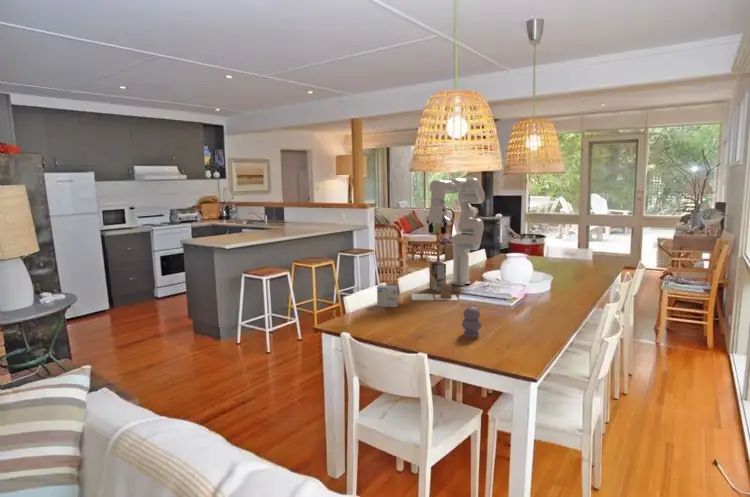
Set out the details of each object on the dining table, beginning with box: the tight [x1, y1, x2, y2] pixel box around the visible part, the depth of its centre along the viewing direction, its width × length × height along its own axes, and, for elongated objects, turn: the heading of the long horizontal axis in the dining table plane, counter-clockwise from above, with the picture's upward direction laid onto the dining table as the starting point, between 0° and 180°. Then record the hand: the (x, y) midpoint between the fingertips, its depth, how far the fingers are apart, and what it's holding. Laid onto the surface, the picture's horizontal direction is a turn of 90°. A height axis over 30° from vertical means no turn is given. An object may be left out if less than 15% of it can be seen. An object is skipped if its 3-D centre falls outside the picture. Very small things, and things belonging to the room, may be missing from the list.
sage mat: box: [410, 293, 435, 301], centre depth 257 cm, size 14×12×1 cm
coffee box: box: [429, 261, 447, 292], centre depth 275 cm, size 9×6×16 cm
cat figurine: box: [461, 306, 483, 338], centre depth 192 cm, size 8×8×12 cm
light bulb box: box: [376, 283, 399, 308], centre depth 239 cm, size 11×7×11 cm, turn 84°
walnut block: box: [440, 283, 453, 298], centre depth 256 cm, size 6×6×7 cm
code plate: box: [434, 294, 459, 301], centre depth 256 cm, size 12×12×1 cm
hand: (436, 233), depth 259 cm, fingers open, 9 cm apart
